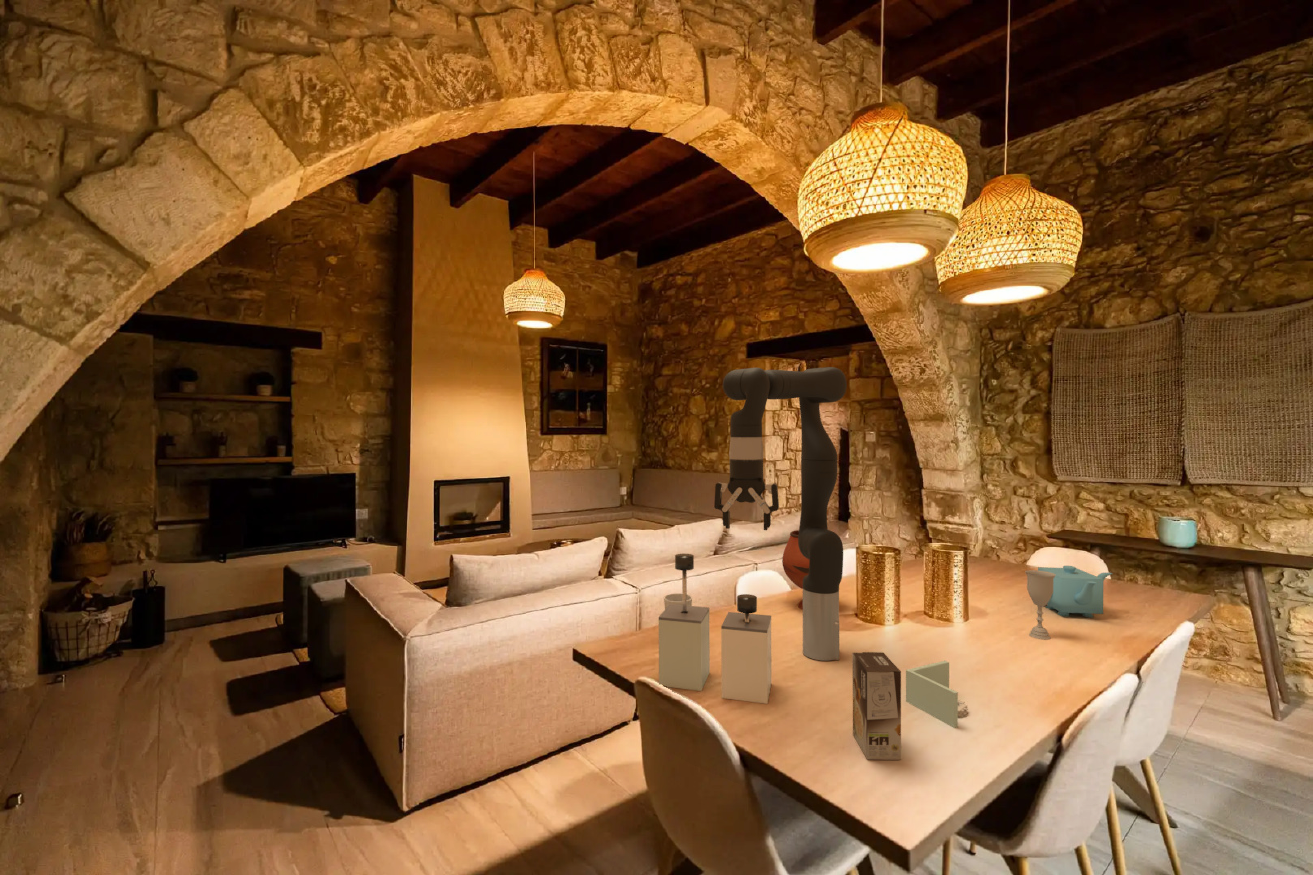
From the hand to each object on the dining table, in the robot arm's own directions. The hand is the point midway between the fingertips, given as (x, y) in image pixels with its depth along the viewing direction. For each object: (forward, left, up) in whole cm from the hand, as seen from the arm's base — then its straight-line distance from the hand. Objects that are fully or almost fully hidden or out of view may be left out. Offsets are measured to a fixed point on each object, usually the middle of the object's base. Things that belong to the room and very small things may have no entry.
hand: (746, 528), depth 128 cm
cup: (+23, -26, -37) cm, 51 cm away
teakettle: (-93, -82, -37) cm, 129 cm away
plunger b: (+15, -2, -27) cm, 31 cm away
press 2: (0, 0, -37) cm, 37 cm away
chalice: (-76, -56, -37) cm, 101 cm away
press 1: (+15, -2, -37) cm, 40 cm away
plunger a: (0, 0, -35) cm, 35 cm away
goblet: (-13, -66, -37) cm, 76 cm away
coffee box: (-26, +16, -37) cm, 48 cm away
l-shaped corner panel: (-42, -4, -38) cm, 57 cm away
